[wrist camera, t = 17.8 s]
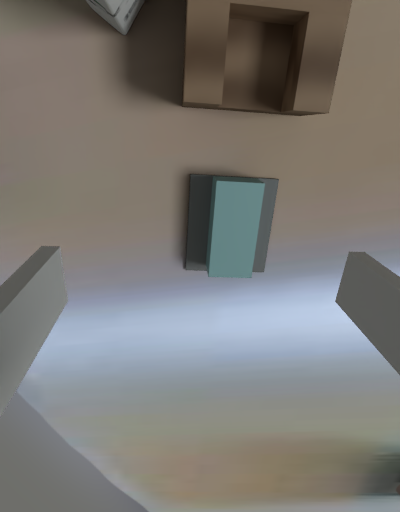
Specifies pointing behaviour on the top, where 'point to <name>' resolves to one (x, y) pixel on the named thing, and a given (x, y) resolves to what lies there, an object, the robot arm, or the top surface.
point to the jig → (263, 54)
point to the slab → (233, 226)
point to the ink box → (117, 12)
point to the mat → (201, 216)
